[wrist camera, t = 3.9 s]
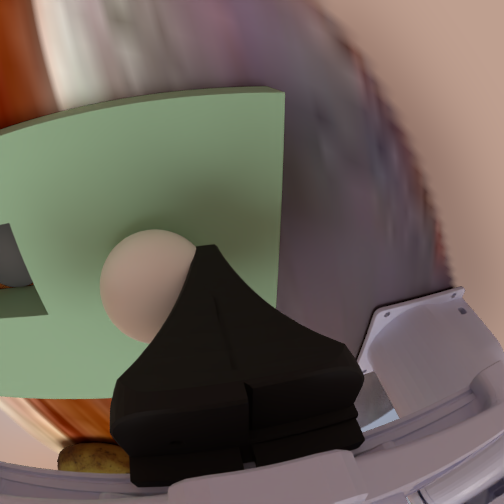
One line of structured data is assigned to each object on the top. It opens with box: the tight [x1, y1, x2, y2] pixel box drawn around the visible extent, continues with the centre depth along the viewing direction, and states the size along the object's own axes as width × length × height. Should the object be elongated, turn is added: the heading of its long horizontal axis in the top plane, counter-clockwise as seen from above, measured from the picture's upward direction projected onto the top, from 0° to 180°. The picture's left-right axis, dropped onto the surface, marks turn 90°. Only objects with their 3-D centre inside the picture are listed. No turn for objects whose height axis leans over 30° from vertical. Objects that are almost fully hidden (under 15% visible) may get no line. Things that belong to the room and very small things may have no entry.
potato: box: [57, 443, 130, 474], centre depth 24 cm, size 8×13×8 cm, turn 58°
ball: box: [100, 229, 196, 344], centre depth 11 cm, size 4×4×4 cm
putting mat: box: [0, 86, 285, 399], centre depth 14 cm, size 20×16×2 cm
